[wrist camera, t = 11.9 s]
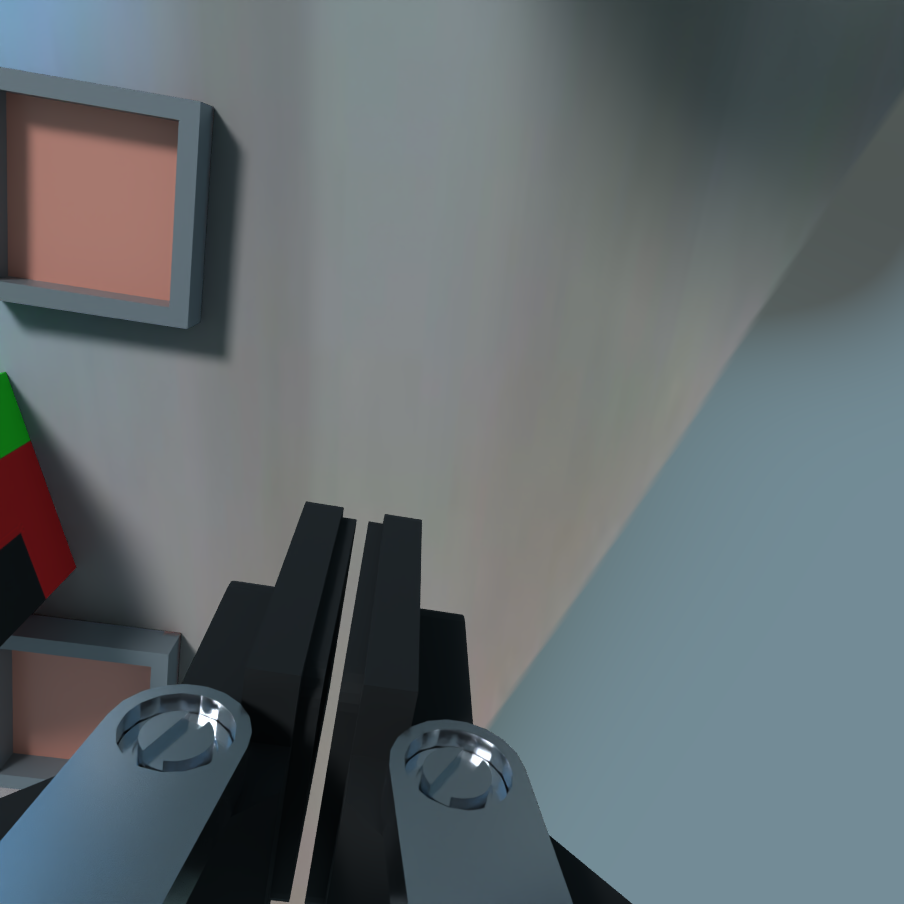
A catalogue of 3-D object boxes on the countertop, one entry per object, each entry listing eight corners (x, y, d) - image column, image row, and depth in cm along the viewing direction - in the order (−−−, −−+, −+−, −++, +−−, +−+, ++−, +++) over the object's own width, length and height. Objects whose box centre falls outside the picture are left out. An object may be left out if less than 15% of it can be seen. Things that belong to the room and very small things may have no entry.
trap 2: (-10, 68, 32) (-38, 60, 30) (214, 107, 33) (200, 101, 31) (-6, 290, 35) (-32, 295, 33) (200, 322, 35) (187, 328, 33)
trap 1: (-1, 610, 40) (-23, 631, 38) (180, 633, 40) (168, 654, 38) (1, 758, 42) (-19, 785, 40) (171, 777, 43) (159, 804, 41)
